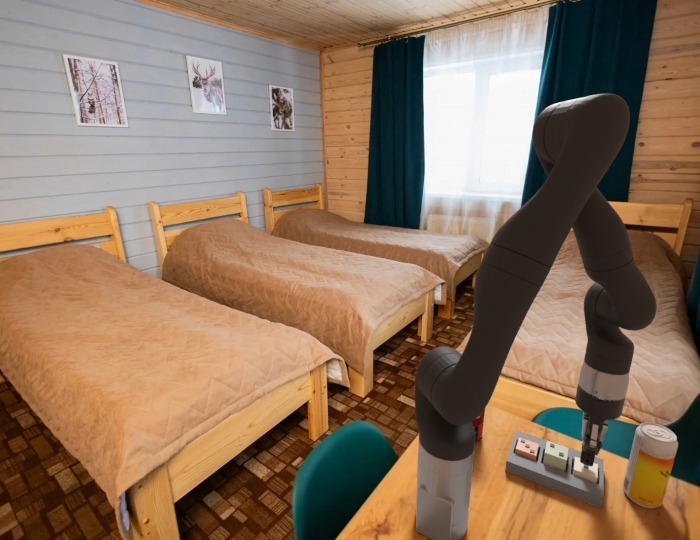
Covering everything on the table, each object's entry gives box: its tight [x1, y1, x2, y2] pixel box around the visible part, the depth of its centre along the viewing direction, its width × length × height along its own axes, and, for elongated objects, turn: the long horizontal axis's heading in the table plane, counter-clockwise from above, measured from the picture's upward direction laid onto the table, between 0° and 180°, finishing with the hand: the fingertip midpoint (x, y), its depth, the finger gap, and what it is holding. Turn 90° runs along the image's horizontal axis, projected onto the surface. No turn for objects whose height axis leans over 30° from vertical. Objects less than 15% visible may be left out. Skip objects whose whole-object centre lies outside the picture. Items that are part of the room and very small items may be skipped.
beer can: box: [622, 421, 679, 509], centre depth 71 cm, size 6×6×15 cm
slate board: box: [505, 429, 605, 509], centre depth 79 cm, size 11×17×2 cm, turn 57°
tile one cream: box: [571, 457, 598, 483], centre depth 76 cm, size 4×4×3 cm
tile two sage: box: [542, 440, 569, 472], centre depth 79 cm, size 4×4×3 cm
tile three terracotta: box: [515, 437, 539, 461], centre depth 82 cm, size 4×4×3 cm
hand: (586, 462), depth 76 cm, fingers closed
